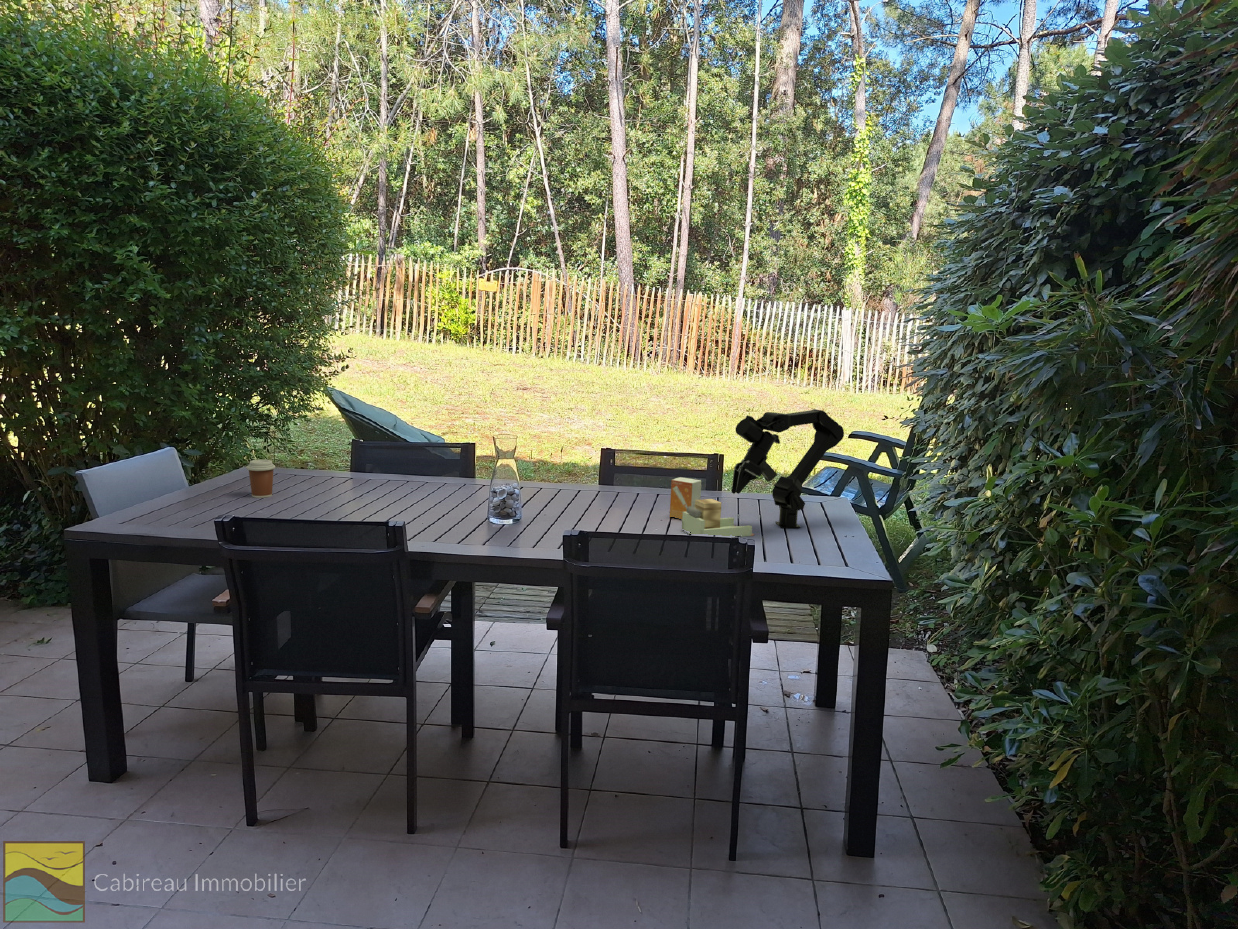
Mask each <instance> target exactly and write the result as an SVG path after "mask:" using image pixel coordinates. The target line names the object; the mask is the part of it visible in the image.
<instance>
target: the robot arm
mask: <svg viewBox="0 0 1238 929" xmlns="http://www.w3.org/2000/svg"><path fill="white" fill-rule="evenodd" d="M810 424H811V425H812V428H813V429H814V430H815V432H814V439H813V443H812V445H810V447H809V448H808V450H807V451H806V453H805V454H804V455H803V456H802V458H801V459H800V461H799V462H798V464H796V466H795V467H794V468H793V470H792V472H791V473H790V475H788V476H787V477H786V476H782V475H781V476H780V477H778V480H777V481H776V483H774V484H773V488H772V490H771V493H772V494H771V496H772V499H773V503H774V505H775V506H777V507H779V516H778V517H779V518H778V519H779V520H778V521H774V522H775V524H776V525H777V526H778V527H780V529H800V528H801V525H799V524H798V512H799V511H801V510H802V511H803V510H804V509H805V505H806V502H805V500H803V498H802V497H801V495H802V493H803V484H804V483H805V482H806V481H807V479H808V477H809V476H810V475H811V473H812V471H814V469H815V467H817V465H818V464H819V462H820V461H821V460H822V458H823V457H824V455H825V454H826V453H827V452H828V451H829V450H831V449H833V448H834V447H836V446H837V445H838V444H839V443H840V442H841V441H842V440H843V439H844V437H845V431H844V428H843V426H842V425H840V424H839V423H838V422H837V420H835V419H833V418H832V417H830V416H829V415H828V413H827V412H825V410H823V409H816V408H813V409H810V410H806V411H805V410H804V411H796V412H789V413H782V412H774V411H773V412H772V411H767V412H764V413H763V415H762V416H761V417H759V418H757V419H755V418H754V417H753V416H751V415H746V416H745V418H743V419H741V420H740V421H739V422H738V423H737V425H736V426H735V434H736V435H738V436H740V437H741V438H742V439H743V440H745V441H746V442H748V443H750V444H751V445H750V446H749V447H748V449H747V450H746V451H747V452H746V454H745V455H744V457H743V459H741V461H740V462H737V463H736V464H735V466H734V467H733V473H732V474H733V475H732V484H731V493H732V494H733V495H735V494H741V492H742V491H743V490H744V489H745V487H747V486H748V484H750V482H751V481H754V480H758V479H759V478H760V477H761V476H763V478H764V480H765V481H766V482H768V483H770V482H771V481H773V479H775V478H776V477H777V476H778V473H777V472H776V471H775V470H774V469H773V468H772V466H771V465H770V464H769V463H768V462H767V459H768V453H769V452H770V450H771V449H772V447H773V445H774V443H775V444H778V445H780V444H781V441H780V437H779V435H778V434H777V433H782V432H785V431H787V430H789V429H790V428H791V427H797V426H803V425H810ZM764 430H765V431H764ZM771 432H774V433H771Z"/></svg>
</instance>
